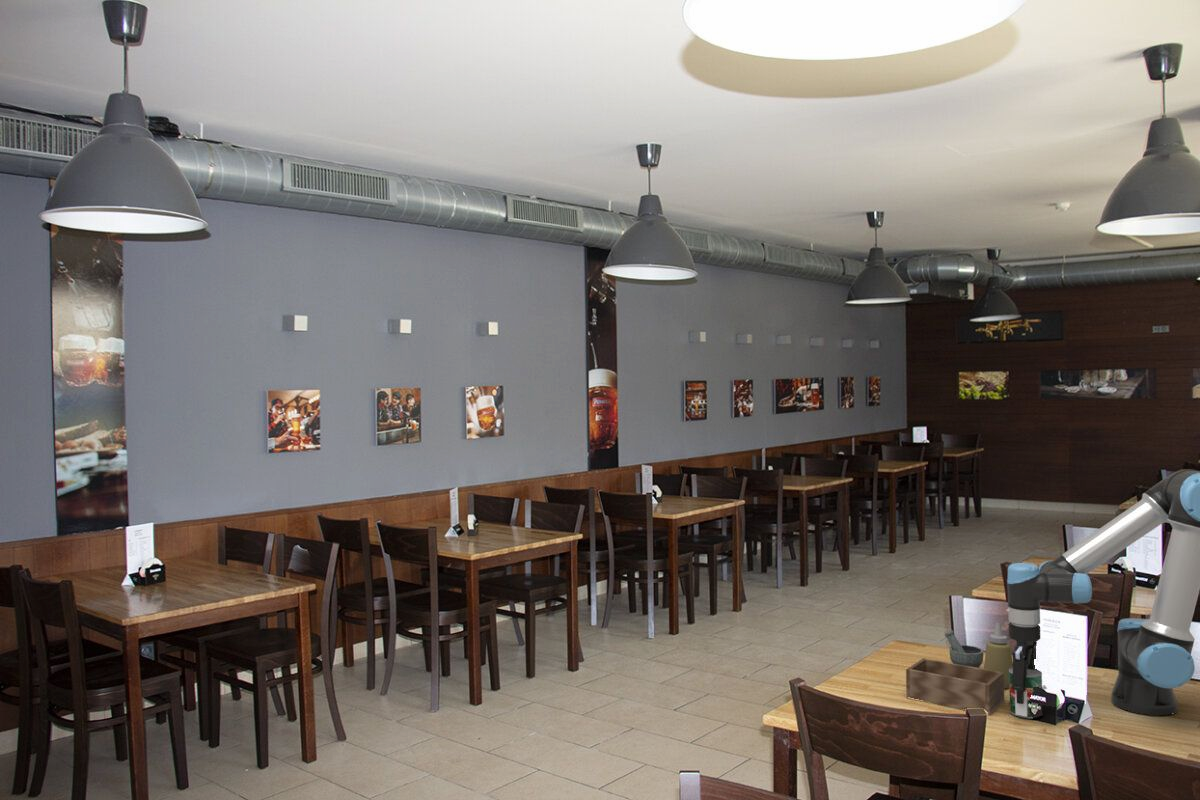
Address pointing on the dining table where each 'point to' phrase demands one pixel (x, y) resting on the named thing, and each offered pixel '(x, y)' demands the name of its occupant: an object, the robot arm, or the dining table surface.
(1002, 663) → the squeeze bottle
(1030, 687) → the canned tomato
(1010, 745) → the dining table surface
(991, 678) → the wooden box
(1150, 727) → the dining table surface
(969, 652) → the mortar and pestle
